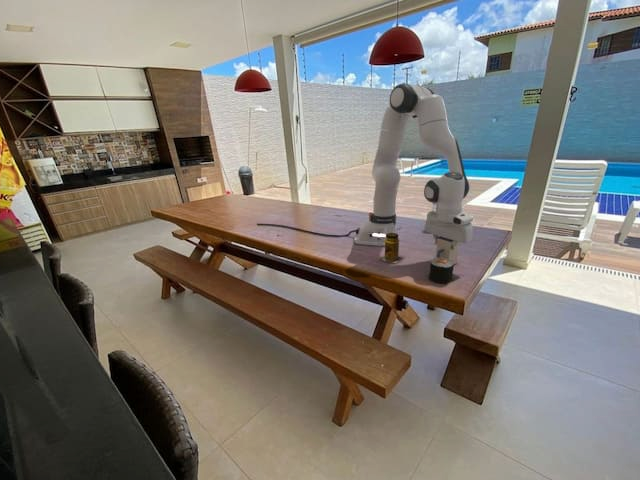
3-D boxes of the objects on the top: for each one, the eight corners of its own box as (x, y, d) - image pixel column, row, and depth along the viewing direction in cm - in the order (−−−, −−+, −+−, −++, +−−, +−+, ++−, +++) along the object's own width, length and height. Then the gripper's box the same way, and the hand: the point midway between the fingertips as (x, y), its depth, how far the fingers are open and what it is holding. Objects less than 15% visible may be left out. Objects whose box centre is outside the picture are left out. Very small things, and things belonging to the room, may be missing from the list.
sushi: (446, 285, 116) (449, 266, 112) (425, 279, 121) (427, 261, 117) (455, 277, 121) (457, 259, 117) (434, 271, 126) (436, 254, 123)
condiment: (380, 260, 139) (381, 235, 134) (390, 253, 145) (391, 229, 140) (395, 263, 135) (396, 238, 130) (404, 257, 140) (405, 232, 135)
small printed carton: (456, 262, 132) (443, 269, 128) (444, 258, 137) (430, 264, 132) (460, 236, 127) (446, 243, 122) (446, 233, 132) (432, 238, 127)
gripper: (422, 211, 129) (420, 242, 135) (467, 222, 113) (462, 256, 120) (432, 208, 132) (429, 238, 138) (477, 218, 117) (471, 251, 123)
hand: (445, 246), depth 129 cm, fingers closed on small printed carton, 6 cm apart
